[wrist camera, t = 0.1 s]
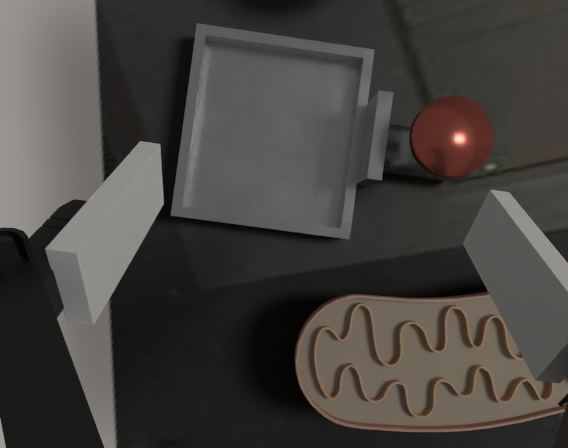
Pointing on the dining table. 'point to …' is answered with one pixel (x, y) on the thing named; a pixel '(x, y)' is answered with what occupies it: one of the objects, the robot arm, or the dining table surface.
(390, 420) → the anatomical model
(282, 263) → the dining table surface
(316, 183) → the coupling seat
